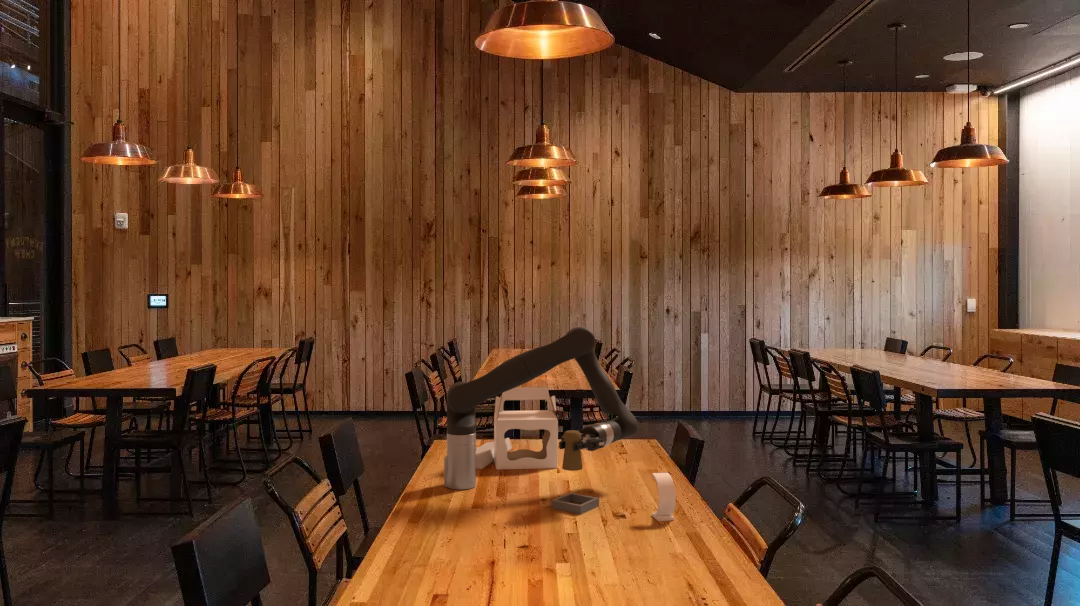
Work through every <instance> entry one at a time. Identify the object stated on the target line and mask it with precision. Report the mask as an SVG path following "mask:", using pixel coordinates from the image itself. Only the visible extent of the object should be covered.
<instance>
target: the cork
mask: <svg viewBox="0 0 1080 606" xmlns="http://www.w3.org/2000/svg"><path fill="white" fill-rule="evenodd" d="M580 432H581V431H579V430H574V429H573V430H572V429H570V430H566V431H564V433H563V435H562V437H563V438H564V441H565V448H564V449H563V450H564V451H563V458H562V459H563V460H562V465H561V466H562V467H561V469H562V470H564V471H569V472H570V471H571V472H574V471H575V472H577V471H581V470H582V469H583V461H582V453H581V450H578V451H573V444H574V443H576V442H580V440H581V434H580Z"/></svg>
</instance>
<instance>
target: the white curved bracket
mask: <svg viewBox="0 0 1080 606" xmlns="http://www.w3.org/2000/svg"><path fill="white" fill-rule="evenodd" d="M651 475H652V476H651V477H652V478H653V479H654V481H655V484H656V486H657V492H658V506H657V510H656V512H651V516H652V517H653V518H654V519H655V520H656V521H657V522H667V521H675V517H674V516H673V514H674V512H675V509H676V501H677V499H676V497H677V496H676V495H677V494H676V488H675V484H674V480H673V478H672V476H671V474H670V473H669V472H653V473H651Z"/></svg>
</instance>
